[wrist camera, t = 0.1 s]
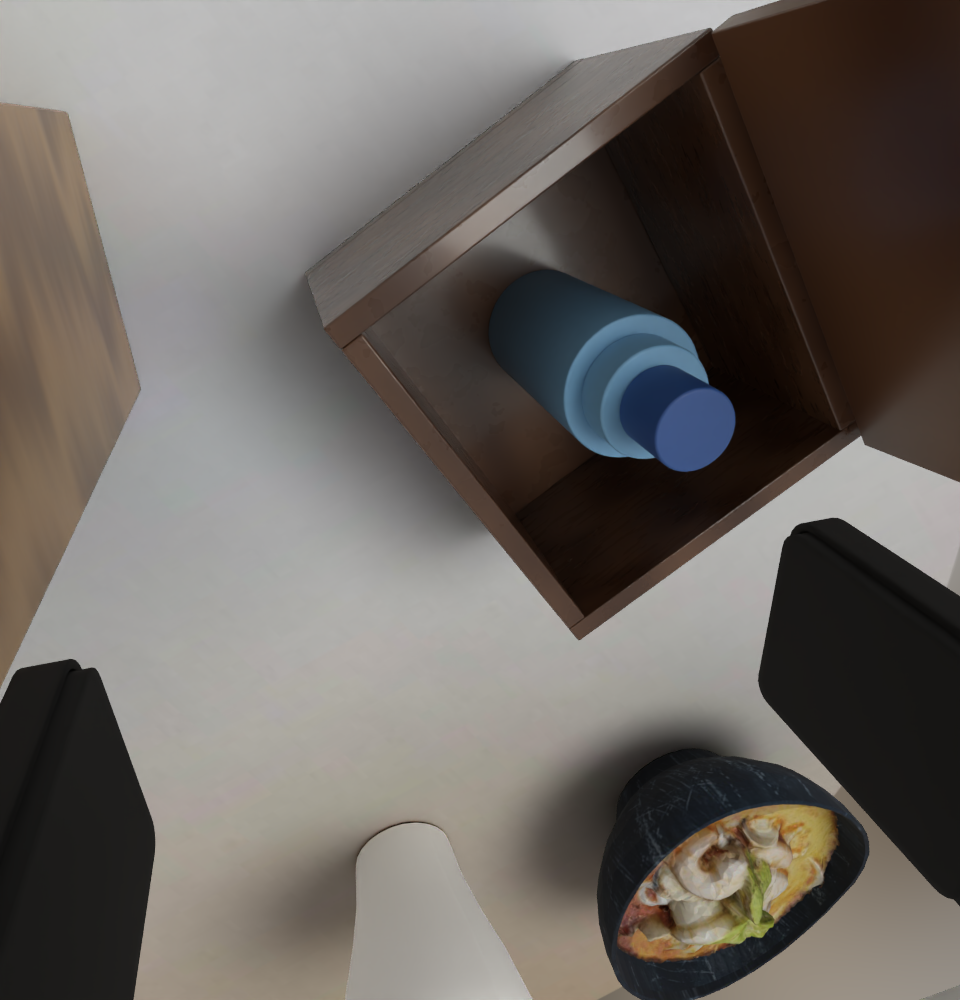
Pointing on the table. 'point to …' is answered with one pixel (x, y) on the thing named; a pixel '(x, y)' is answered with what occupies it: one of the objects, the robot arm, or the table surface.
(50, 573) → the stand
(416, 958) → the cup
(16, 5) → the table surface
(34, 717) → the robot arm
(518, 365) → the bottle
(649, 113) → the brown wooden box
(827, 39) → the wooden box lid
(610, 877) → the bowl
